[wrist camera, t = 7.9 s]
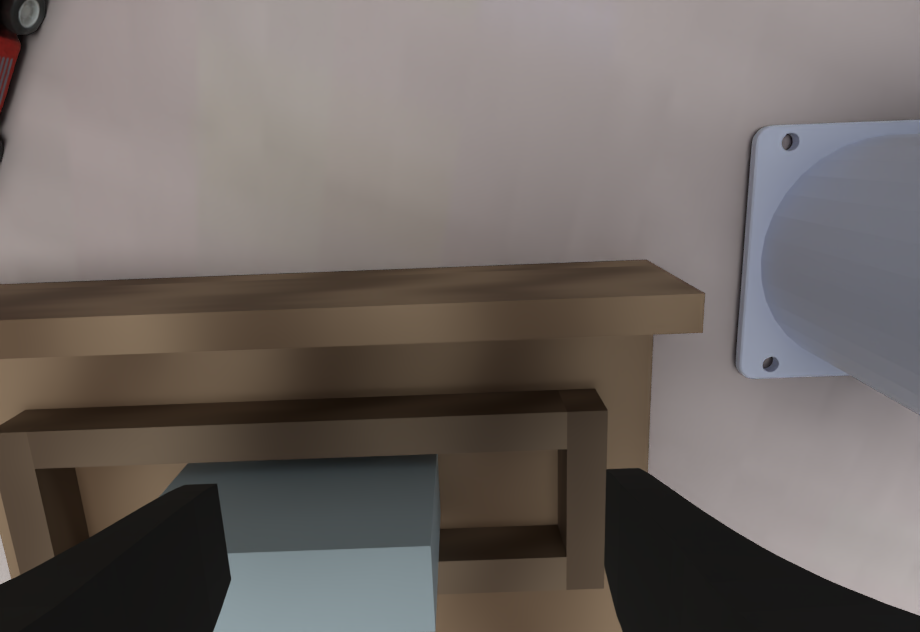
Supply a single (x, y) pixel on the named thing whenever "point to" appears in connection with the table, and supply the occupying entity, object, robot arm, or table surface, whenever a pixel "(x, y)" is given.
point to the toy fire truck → (15, 36)
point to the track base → (351, 407)
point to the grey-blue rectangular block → (328, 542)
